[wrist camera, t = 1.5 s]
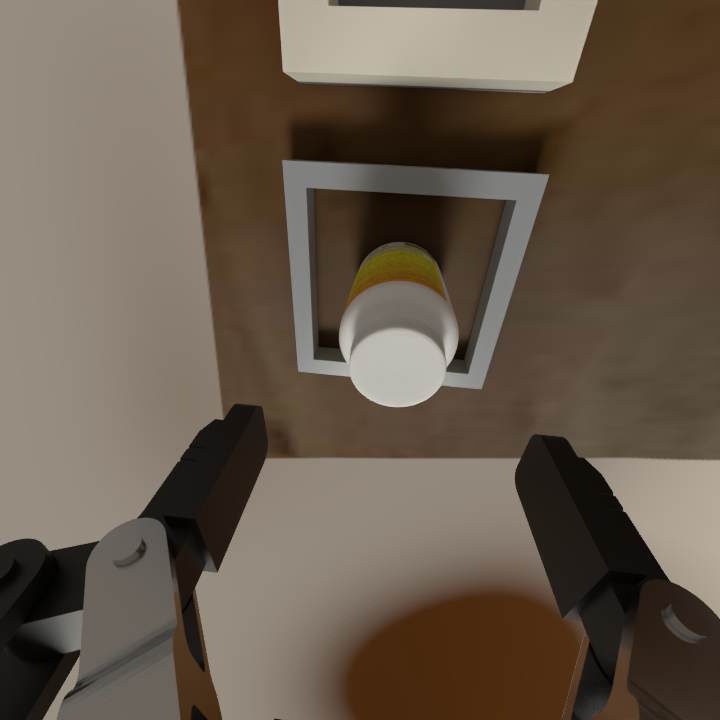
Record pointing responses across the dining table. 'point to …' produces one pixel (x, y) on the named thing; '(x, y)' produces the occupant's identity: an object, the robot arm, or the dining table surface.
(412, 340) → the supplement bottle
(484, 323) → the tray
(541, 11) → the holder
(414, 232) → the dining table surface
